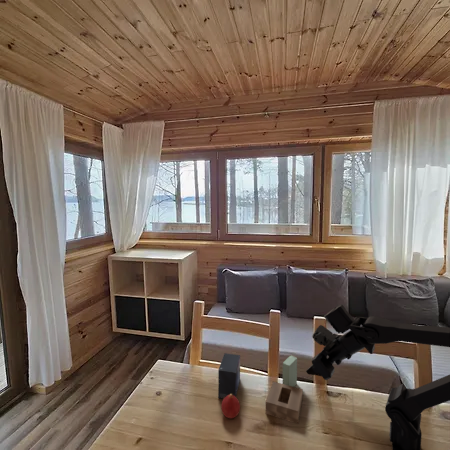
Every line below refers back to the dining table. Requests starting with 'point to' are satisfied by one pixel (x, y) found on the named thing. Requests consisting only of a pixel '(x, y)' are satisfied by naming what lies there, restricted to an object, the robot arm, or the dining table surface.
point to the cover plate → (290, 371)
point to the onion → (230, 406)
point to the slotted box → (284, 402)
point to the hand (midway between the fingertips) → (312, 365)
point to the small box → (229, 375)
